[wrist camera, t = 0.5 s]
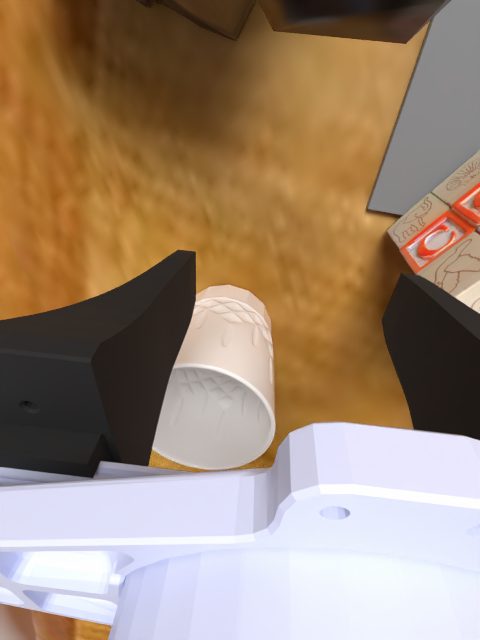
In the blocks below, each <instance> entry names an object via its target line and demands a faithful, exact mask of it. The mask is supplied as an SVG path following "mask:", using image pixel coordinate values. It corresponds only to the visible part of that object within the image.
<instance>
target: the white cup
mask: <svg viewBox="0 0 480 640" xmlns="http://www.w3.org/2000/svg"><path fill="white" fill-rule="evenodd" d="M275 426H276V425H275V384H274V360H273V344H272V338H271V319H270V317H269V315H268V312H267V310H266V307H265V305H264V303H262V302H261V301H260V300H259V299H258V298H257V297H255V296H254V295H253V294H252V293H251V292H250V291H248V290H245V289H241V288H238V287H235V286H232V285H221V286H211V287H208V288H206V289H204V290H203V291H201V292H200V293H198V294H196V302H195V306H194V311H193V315H192V319H191V323H190V325H189V328H188V331H187V333H186V336H185V338H184V341H183V343H182V346H181V349H180V351H179V354H178V356H177V359H176V361H175V364H174V366H173V369H172V372H171V375H170V378H169V382H168V385H167V389H166V393H165V397H164V401H163V405H162V409H161V413H160V417H159V421H158V425H157V429H156V433H155V438H154V442H153V446H152V449H153V450H154V451H155V452H157V453H158V454H160V455H162V456H163V457H165V458H167V459H169V460H171V461H174V462H176V463H179V464H182V465H185V466H189V467H193V468H198V469H206V470H223V469H231V468H236V467H239V466H243V465H245V464H248V463H250V462H252V461H254V460H255V459H257V458H258V457H260V456H261V455H262V454H263V453H264V452H265V451H266V450H267V449H268V447H269V446H270V444H271V443H272V440H273V438H274V434H275Z"/></svg>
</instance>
